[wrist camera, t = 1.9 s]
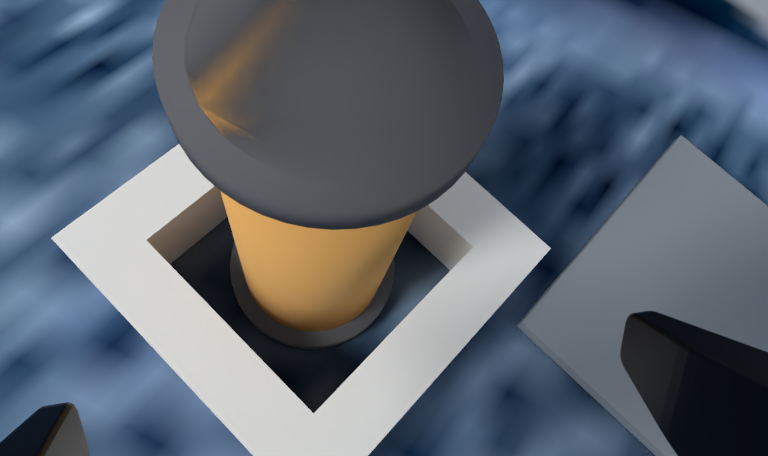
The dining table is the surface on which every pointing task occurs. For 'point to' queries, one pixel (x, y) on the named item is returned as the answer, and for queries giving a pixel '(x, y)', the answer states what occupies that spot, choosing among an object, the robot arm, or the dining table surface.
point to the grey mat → (658, 278)
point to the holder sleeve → (238, 361)
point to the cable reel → (325, 139)
